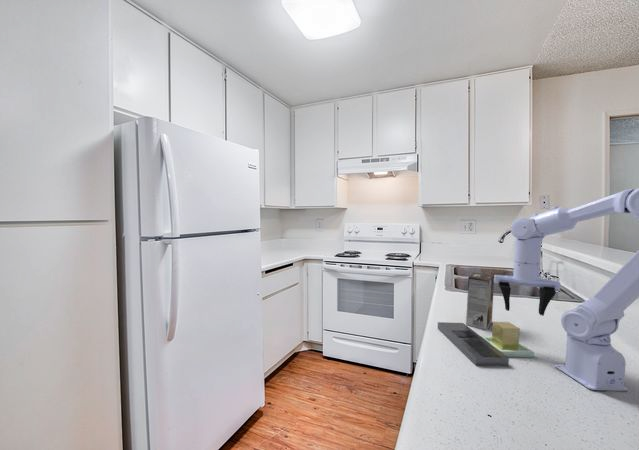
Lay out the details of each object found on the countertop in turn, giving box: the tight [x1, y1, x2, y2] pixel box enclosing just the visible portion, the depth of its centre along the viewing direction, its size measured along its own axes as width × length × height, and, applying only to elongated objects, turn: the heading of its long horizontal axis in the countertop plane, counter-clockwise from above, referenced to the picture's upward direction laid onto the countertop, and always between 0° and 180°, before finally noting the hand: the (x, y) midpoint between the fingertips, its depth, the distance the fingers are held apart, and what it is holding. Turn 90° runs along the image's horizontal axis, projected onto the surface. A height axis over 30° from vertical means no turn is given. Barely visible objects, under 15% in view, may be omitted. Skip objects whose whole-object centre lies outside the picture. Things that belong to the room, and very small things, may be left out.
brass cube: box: [491, 321, 521, 350], centre depth 79 cm, size 4×4×6 cm
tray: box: [480, 335, 535, 358], centre depth 79 cm, size 9×9×1 cm
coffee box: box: [465, 272, 495, 331], centre depth 97 cm, size 9×6×16 cm
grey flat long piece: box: [437, 321, 510, 367], centre depth 81 cm, size 22×8×2 cm, turn 1°
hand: (523, 311), depth 79 cm, fingers open, 7 cm apart
